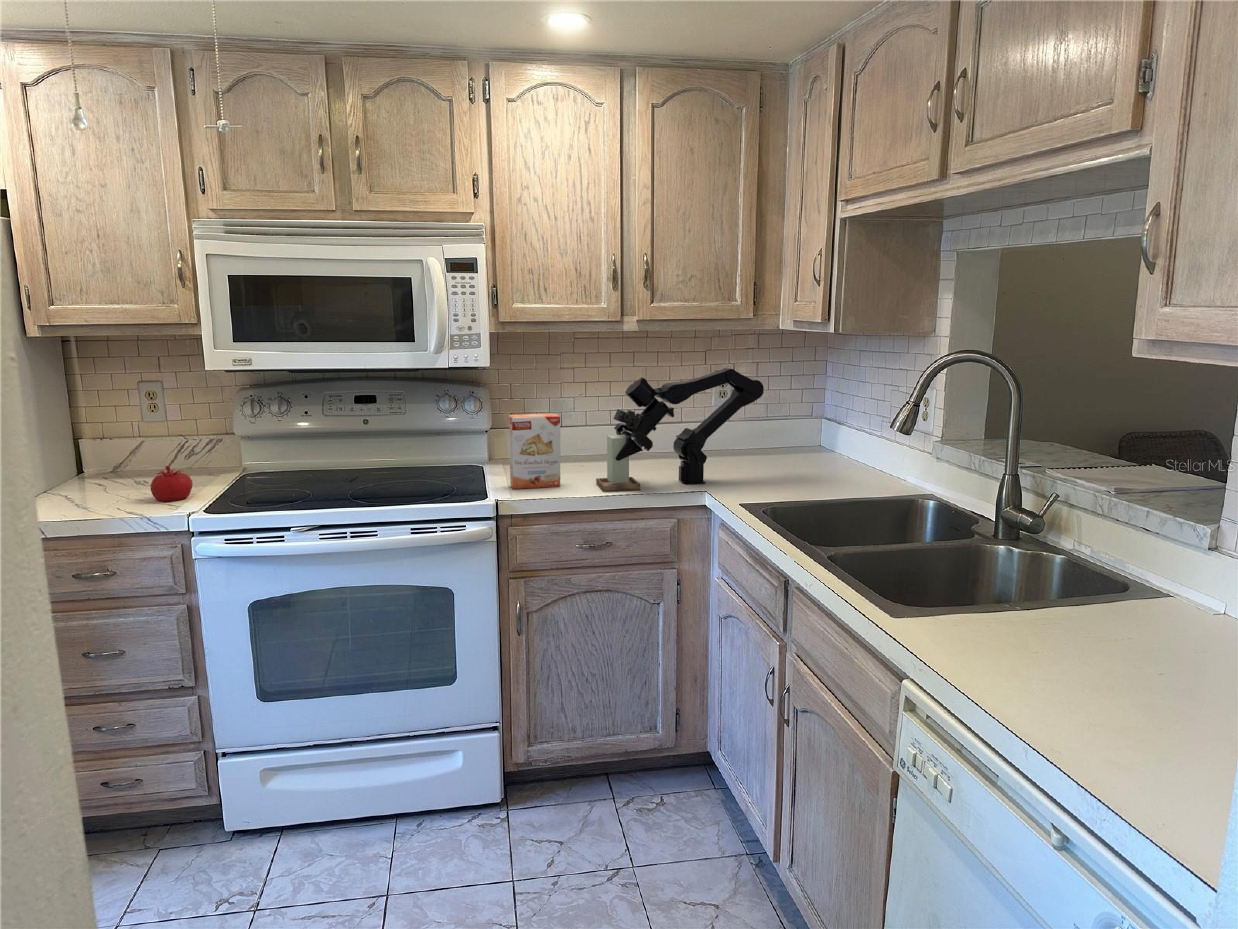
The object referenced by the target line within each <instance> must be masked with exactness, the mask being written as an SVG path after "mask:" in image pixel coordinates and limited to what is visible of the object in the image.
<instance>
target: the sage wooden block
mask: <svg viewBox="0 0 1238 929" xmlns="http://www.w3.org/2000/svg"><path fill="white" fill-rule="evenodd" d="M625 443H626V436H625V435H617V434H616V435H615V434H613V435H606V468H607V469H606V472H607V473H606V476H607V477H606V478H607V480H608V481H610V482H611V483H612V484H613V483H626V482H629V477H630V456H628V457H626V458H624V459H622V460H619V461H617V460H616V459H615V458H616V456H617V455H618V453H619V452H620V450H621V449H622V447H623V446H624V445H625Z"/></svg>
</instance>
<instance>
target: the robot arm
mask: <svg viewBox="0 0 1238 929" xmlns="http://www.w3.org/2000/svg"><path fill="white" fill-rule="evenodd" d="M725 384H728V385H729V386H730V387H732V388H733V389H732V392H731V394H730V396H729V397H728V399H726V400H725V401H724V402H723V403H722V404H721V405H720V406H718V407H717V408H716V409H715V410H714V411H713V412H712V413H711V414H710V415H709V416H708V417H706V418H705V419H704V420H703V421H702V422H701V423H700V424H699V425H697V427H695V428H693V429H690V428H688V427H685V428H684V429H682V431H681V433H679V434H678V435H675V437H676V438H675V439H674V441H673V447H672V448H673V451H674V453H676V454H677V455H678V459H679V460H680V465H678V481H679V482H681V483H682V484H684V485H695V484H697V485H698V484H706V481H705V479H704V474H705V473H704V464H706V462H707V459H708V456H707V454H705V453H704V452H703V451H702V450H703V448H704V446H705V444H706V442H707V440H708V438H709V437H711V436H712V435H713V434H714V433H715V432H716V431H718V430H719V428H721V426H723V425H724V424H725V423H726V422H727V421H728V420H730V419H731V418H732V416H734V415H735V414H736V413H737V412H739V410H740V409H741V408H743V407H746V406H748V405H751V404H753V403H754V402H756V401H757V400H759V399H760V398H761V397H762V396H763V395H764V391H765V388H764V385H763V383H762V382H761V381H760V380H759V379H752V378H749V377H748V376H746V375H743V374H742V373H740V372H738V371H737V370H736V369H734V368H728V367H724V368H722V369H721V370H717V371H714V372H712V373H707V374H706V375H705V374H704V375H702V376H699V377H696V378H692V379H689V380H684V381H672V382H666V383H664V384H662V385H661V386H660V387H656V388H655V387H654V388H653V387H652V386H651V385H650V383H648V381H647V380H646V378H644V377H639V379H637V380H635V381H634V382H633V383H632V384H630V385H628V387H627V388H626V390H625V395H626V396H627V397H628V398H629V399H630V400H631V401H632V402H633V403H634V404H635V405H636V406H637V407H638V408H642V407H643V408H644V409H643V410H642V411H641V412H640V413H639V412H638V413H636V412H635V411H633V410H631V409H628V410H627V411H624V410H622V409H619V408H617V409H616V412H615V414H614V416H613V420H615V421H618V422H619V423H617V424H616V425H615V426H614V427H613V429H614V430H615V433H616V435H625V436H626V443H625V445H624V446H623V447H622V449H621V450H620V452H619V453H618V455H617V456H616V458H615V459H616V460H617V461H619V460H622V459H624V458H626V457H628V456H629V457H630V456H632V455H635V454H638V453H640V452H643V451H644V450H645V451H647V452H649V451H650V450H651V449H652V448H653V446H654V445H653V444H654V442H653V440H652V439H651V438H650V437H648V436H649V434H650V433H651V432H652V431H653V432H655V431H656V430H657V429H658V428H657V427H656V426H658V424H659V423H660V422H661V421H662V420H663V419H664V418H665V417H666V416H668V417H670V418H674V417H675V412H674V410H675V408H674V407H673V406H668V404H672V405H679V404H681V403H684V401H687V400H688V399H689V398H691V397H693V395H695V394H698V393H701V392H705V391H707V390H711V389H714V388H716V387H719V386H722V385H725ZM657 398H660V400H658V399H657ZM666 403H668V404H666Z"/></svg>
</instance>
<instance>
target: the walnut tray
mask: <svg viewBox="0 0 1238 929" xmlns="http://www.w3.org/2000/svg"><path fill="white" fill-rule="evenodd" d="M595 485H596V486H597V487H598V488H599V489H600V490H601V491H602V492H603V493H611V492H612V493H613V492H635V491H637V492H638V491H641V483H640V482H638V480H637V479H635V478H634V476H629V482H626V483H613V484H612V483H611V482H610V481H608V480H607V477H600V478H599V477H597V478H596V480H595Z"/></svg>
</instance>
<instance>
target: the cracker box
mask: <svg viewBox="0 0 1238 929" xmlns="http://www.w3.org/2000/svg"><path fill="white" fill-rule="evenodd" d="M508 417H509V418H508V420H509V475H510V476H509V478H510V482H509V483H510V486H511V488H512V489H513V490H515V489H516V490H521V489H537V488H556V487H557V488H558V487H560V488H561V416H560V415H559V414H557V413H534V414H533V413H531V414H529V413H528V414H509V416H508Z"/></svg>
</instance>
